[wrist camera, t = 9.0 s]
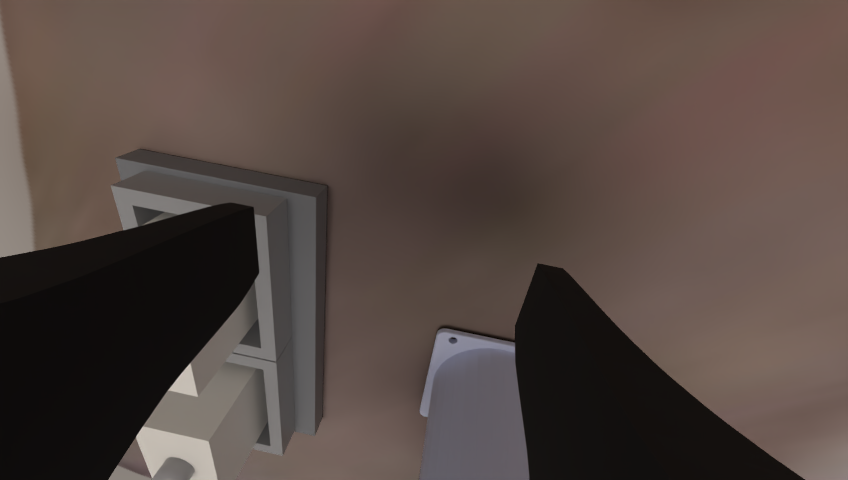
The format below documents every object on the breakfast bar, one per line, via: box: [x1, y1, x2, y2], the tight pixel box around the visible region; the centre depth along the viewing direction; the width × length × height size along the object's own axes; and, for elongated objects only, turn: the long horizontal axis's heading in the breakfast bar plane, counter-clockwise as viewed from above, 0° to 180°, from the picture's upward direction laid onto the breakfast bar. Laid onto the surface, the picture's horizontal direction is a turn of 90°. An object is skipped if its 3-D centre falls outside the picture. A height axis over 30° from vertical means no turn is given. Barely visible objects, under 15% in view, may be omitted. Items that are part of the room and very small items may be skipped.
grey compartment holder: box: [111, 149, 327, 480], centre depth 21 cm, size 10×19×8 cm, turn 171°
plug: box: [144, 212, 258, 397], centre depth 18 cm, size 4×6×7 cm, turn 171°
